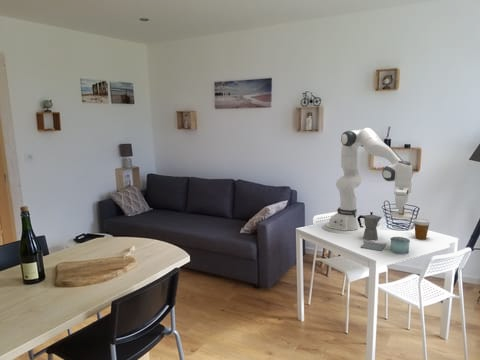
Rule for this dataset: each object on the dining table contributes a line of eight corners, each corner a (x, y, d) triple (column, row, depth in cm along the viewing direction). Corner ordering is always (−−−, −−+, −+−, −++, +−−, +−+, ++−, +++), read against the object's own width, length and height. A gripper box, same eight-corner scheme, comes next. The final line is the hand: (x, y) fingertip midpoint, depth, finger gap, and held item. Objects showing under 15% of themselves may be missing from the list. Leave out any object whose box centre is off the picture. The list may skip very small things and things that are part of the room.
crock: (388, 252, 210) (388, 240, 209) (391, 246, 219) (392, 235, 218) (407, 255, 204) (408, 243, 203) (410, 249, 213) (411, 238, 212)
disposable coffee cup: (425, 235, 237) (426, 218, 235) (431, 240, 228) (432, 222, 226) (410, 235, 238) (411, 218, 236) (415, 240, 229) (417, 222, 227)
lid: (388, 216, 206) (389, 208, 206) (392, 212, 216) (393, 204, 215) (410, 219, 200) (411, 210, 199) (413, 214, 210) (414, 206, 209)
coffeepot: (379, 236, 238) (380, 210, 235) (382, 241, 229) (383, 214, 226) (355, 235, 240) (356, 210, 237) (357, 240, 231) (358, 213, 228)
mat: (360, 247, 218) (360, 246, 218) (365, 241, 228) (365, 241, 228) (381, 251, 212) (381, 250, 211) (385, 245, 221) (385, 244, 221)
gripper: (400, 185, 216) (398, 207, 218) (393, 191, 199) (392, 215, 201) (411, 186, 212) (409, 209, 215) (406, 192, 195) (404, 217, 198)
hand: (401, 212), depth 208 cm, fingers closed on lid, 3 cm apart
